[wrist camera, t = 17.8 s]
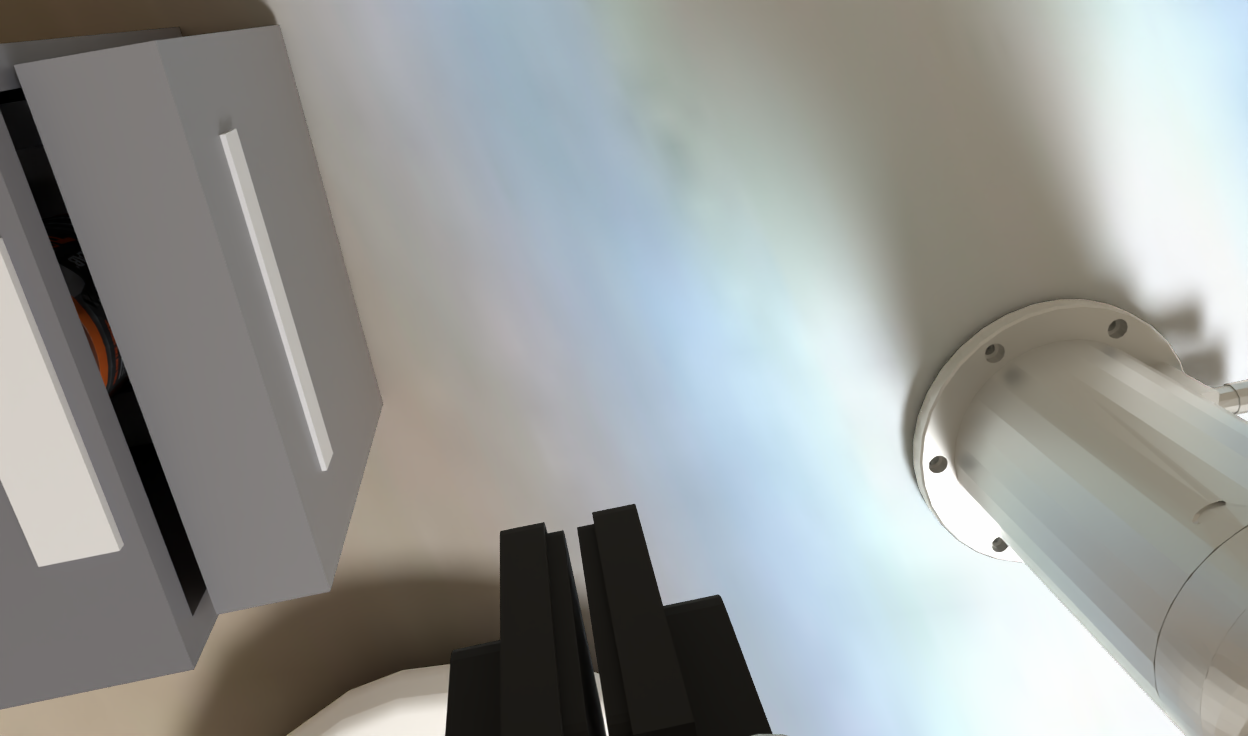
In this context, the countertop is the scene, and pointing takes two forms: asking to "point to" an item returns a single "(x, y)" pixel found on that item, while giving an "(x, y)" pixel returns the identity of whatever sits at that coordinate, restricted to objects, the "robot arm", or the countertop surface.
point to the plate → (393, 707)
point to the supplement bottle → (86, 302)
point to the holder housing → (76, 474)
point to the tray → (215, 292)
